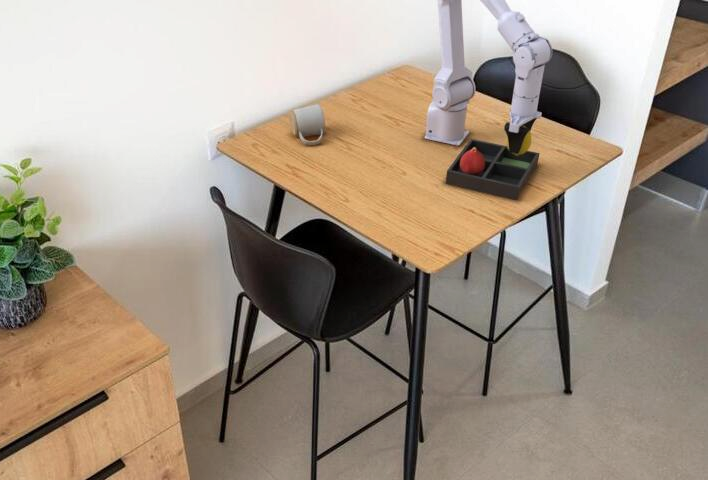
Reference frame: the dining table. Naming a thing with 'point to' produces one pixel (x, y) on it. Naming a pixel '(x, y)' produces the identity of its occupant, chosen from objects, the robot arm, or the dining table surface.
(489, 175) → the divided tray
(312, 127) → the ceramic mug
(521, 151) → the lemon
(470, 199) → the dining table surface
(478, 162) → the onion
